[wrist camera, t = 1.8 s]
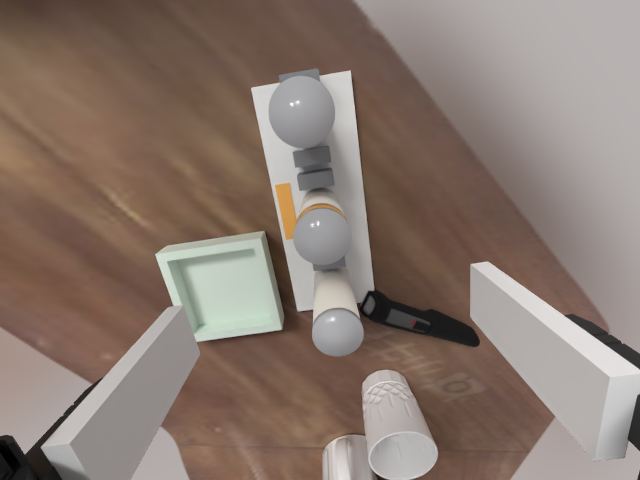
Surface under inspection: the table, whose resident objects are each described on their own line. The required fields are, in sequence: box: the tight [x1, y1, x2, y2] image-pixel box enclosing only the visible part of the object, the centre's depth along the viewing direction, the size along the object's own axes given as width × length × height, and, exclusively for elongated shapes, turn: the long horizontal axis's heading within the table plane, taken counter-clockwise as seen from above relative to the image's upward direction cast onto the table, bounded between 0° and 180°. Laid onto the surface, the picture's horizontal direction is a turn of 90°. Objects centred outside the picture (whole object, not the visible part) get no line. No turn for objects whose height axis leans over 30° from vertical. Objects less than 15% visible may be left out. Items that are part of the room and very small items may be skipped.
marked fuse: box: [293, 187, 351, 265], centre depth 28 cm, size 4×4×11 cm
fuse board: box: [251, 68, 374, 311], centre depth 32 cm, size 26×10×4 cm, turn 9°
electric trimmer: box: [360, 290, 480, 347], centre depth 37 cm, size 4×16×3 cm, turn 68°
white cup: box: [361, 369, 438, 480], centre depth 38 cm, size 8×8×10 cm
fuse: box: [312, 267, 364, 356], centre depth 31 cm, size 4×4×11 cm
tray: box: [155, 231, 284, 342], centre depth 36 cm, size 12×12×3 cm
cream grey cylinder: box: [268, 76, 335, 148], centre depth 25 cm, size 4×4×11 cm
